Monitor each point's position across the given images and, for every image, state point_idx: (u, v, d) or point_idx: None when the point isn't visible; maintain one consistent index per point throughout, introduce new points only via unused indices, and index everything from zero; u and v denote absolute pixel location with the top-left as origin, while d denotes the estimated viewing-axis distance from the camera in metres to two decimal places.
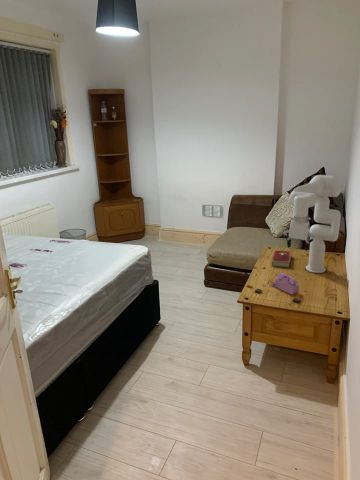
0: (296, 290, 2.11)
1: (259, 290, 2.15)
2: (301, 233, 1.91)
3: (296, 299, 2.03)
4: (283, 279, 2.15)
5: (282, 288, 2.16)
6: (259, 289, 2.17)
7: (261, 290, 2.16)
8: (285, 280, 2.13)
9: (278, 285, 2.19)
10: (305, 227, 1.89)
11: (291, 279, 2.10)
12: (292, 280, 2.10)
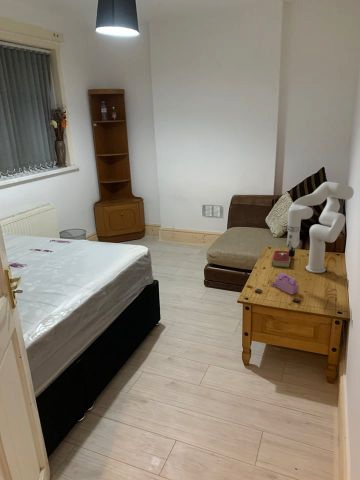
0: (296, 290, 2.11)
1: (259, 290, 2.15)
2: None
3: (296, 299, 2.03)
4: (283, 279, 2.15)
5: (282, 288, 2.16)
6: (259, 289, 2.17)
7: (261, 290, 2.16)
8: (285, 280, 2.13)
9: (278, 285, 2.19)
10: None
11: (291, 279, 2.10)
12: (292, 280, 2.10)
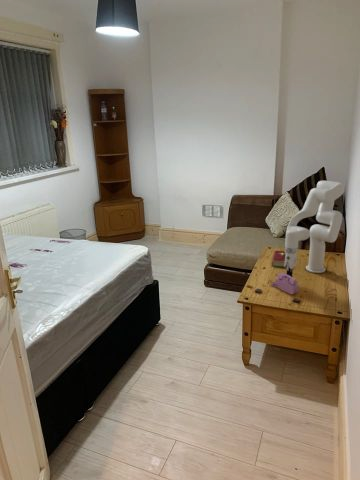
0: (296, 290, 2.11)
1: (259, 290, 2.15)
2: None
3: (296, 299, 2.03)
4: (283, 279, 2.15)
5: (282, 288, 2.16)
6: (259, 289, 2.17)
7: (261, 290, 2.16)
8: (285, 280, 2.13)
9: (278, 285, 2.19)
10: (285, 256, 2.18)
11: (291, 279, 2.10)
12: (292, 280, 2.10)
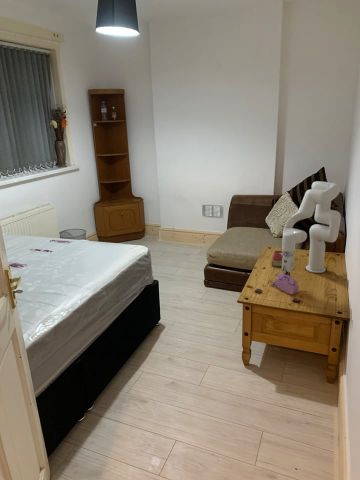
0: (296, 290, 2.11)
1: (259, 290, 2.15)
2: None
3: (296, 299, 2.03)
4: (283, 279, 2.15)
5: (282, 289, 2.16)
6: (259, 289, 2.17)
7: (261, 290, 2.16)
8: (285, 280, 2.13)
9: (278, 285, 2.19)
10: (282, 259, 2.14)
11: (291, 279, 2.10)
12: (292, 280, 2.10)
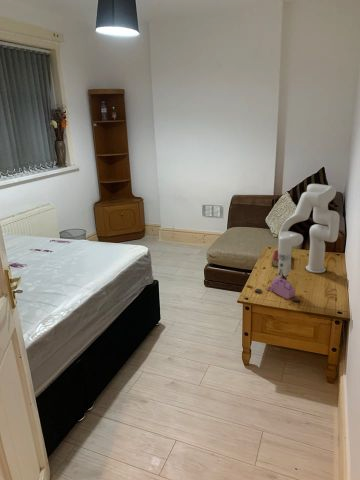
0: (292, 294, 2.06)
1: (259, 290, 2.15)
2: None
3: (296, 299, 2.03)
4: (279, 283, 2.10)
5: (278, 293, 2.12)
6: (259, 289, 2.17)
7: (261, 290, 2.16)
8: (281, 284, 2.09)
9: (274, 289, 2.14)
10: None
11: (287, 283, 2.06)
12: (288, 284, 2.05)
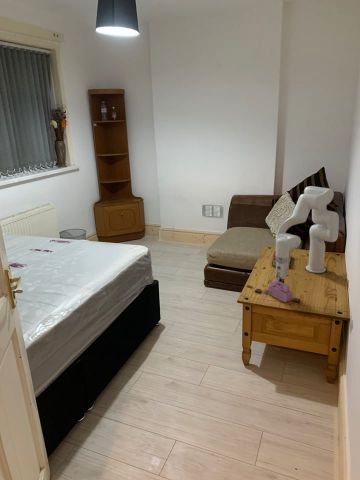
0: (290, 298, 2.03)
1: (259, 290, 2.15)
2: None
3: (296, 299, 2.03)
4: (276, 286, 2.07)
5: (275, 296, 2.08)
6: (259, 289, 2.17)
7: (261, 290, 2.16)
8: (278, 287, 2.05)
9: (271, 292, 2.11)
10: (276, 266, 2.06)
11: (284, 286, 2.02)
12: (285, 287, 2.02)
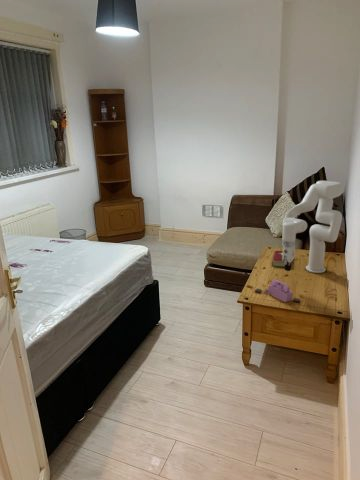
0: (290, 298, 2.03)
1: (259, 290, 2.15)
2: None
3: (296, 299, 2.03)
4: (277, 286, 2.07)
5: (275, 296, 2.08)
6: (259, 289, 2.17)
7: (261, 290, 2.16)
8: (279, 287, 2.05)
9: (271, 292, 2.11)
10: None
11: (285, 286, 2.02)
12: (286, 287, 2.02)
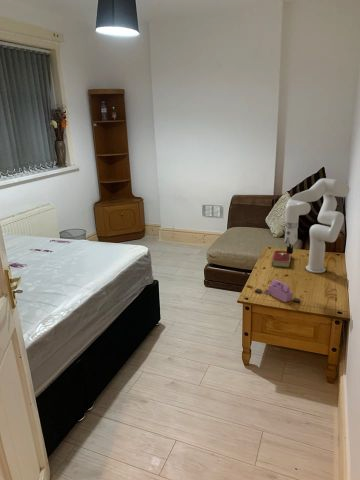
0: (290, 298, 2.03)
1: (259, 290, 2.15)
2: None
3: (296, 299, 2.03)
4: (277, 286, 2.07)
5: (275, 296, 2.08)
6: (259, 289, 2.17)
7: (261, 290, 2.16)
8: (279, 287, 2.05)
9: (271, 292, 2.11)
10: (285, 231, 2.10)
11: (285, 286, 2.02)
12: (286, 287, 2.02)
